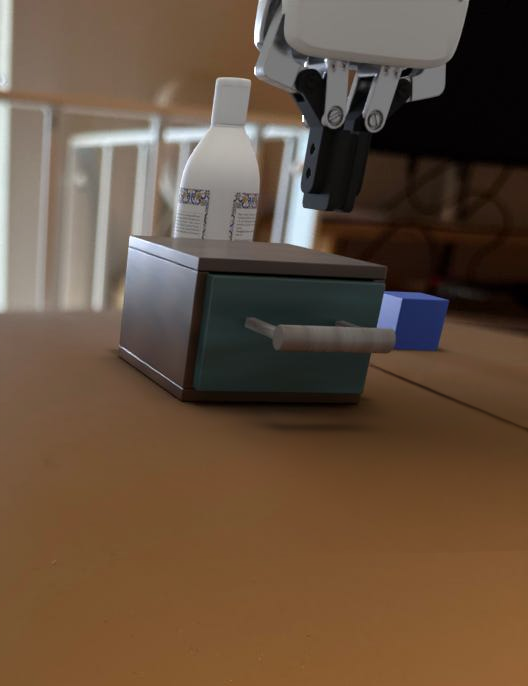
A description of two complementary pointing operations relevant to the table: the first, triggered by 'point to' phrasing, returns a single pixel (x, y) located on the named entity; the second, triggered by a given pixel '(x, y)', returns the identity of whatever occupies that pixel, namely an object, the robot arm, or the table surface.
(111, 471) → the table surface
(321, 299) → the teal drawer
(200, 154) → the bath foam
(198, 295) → the cabinet
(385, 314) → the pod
